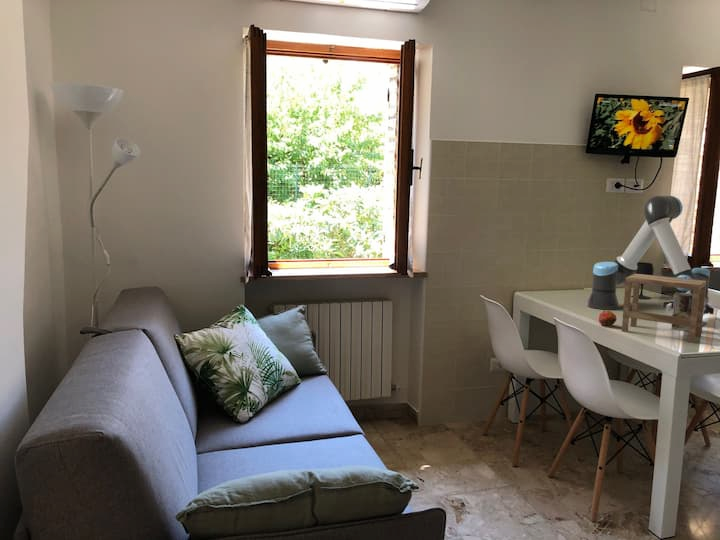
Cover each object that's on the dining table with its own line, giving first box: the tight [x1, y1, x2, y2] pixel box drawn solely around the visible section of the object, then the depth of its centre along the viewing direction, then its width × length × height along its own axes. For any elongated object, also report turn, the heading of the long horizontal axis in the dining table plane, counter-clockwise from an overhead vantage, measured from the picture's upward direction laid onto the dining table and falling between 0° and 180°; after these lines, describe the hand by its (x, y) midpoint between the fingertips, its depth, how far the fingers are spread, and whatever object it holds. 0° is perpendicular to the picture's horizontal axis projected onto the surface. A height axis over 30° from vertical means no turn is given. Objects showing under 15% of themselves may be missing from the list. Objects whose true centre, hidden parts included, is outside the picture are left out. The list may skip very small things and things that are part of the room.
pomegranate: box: [598, 309, 617, 328], centre depth 262 cm, size 7×7×10 cm
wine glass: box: [631, 261, 654, 300], centre depth 330 cm, size 10×10×20 cm
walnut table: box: [621, 274, 707, 344], centre depth 248 cm, size 15×28×24 cm, turn 49°
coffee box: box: [670, 292, 693, 332], centre depth 257 cm, size 9×6×16 cm
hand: (684, 310), depth 255 cm, fingers open, 13 cm apart
